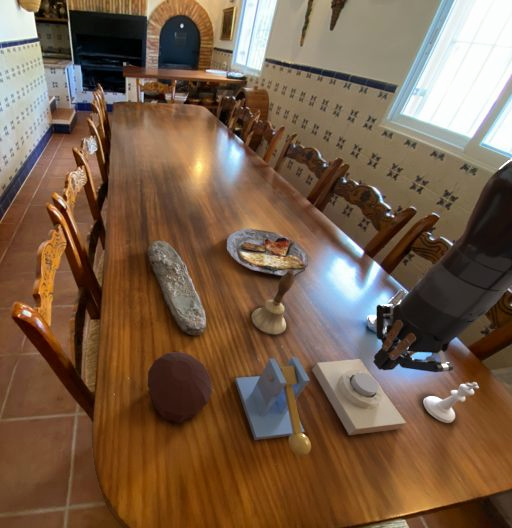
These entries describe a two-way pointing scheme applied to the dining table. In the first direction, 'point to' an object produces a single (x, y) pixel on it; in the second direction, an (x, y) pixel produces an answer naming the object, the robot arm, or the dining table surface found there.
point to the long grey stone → (177, 288)
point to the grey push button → (364, 384)
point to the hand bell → (274, 309)
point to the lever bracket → (270, 399)
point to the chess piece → (448, 402)
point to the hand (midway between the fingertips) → (380, 365)
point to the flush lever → (294, 415)
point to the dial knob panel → (356, 399)
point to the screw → (395, 301)
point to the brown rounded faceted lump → (178, 386)
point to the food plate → (266, 252)
